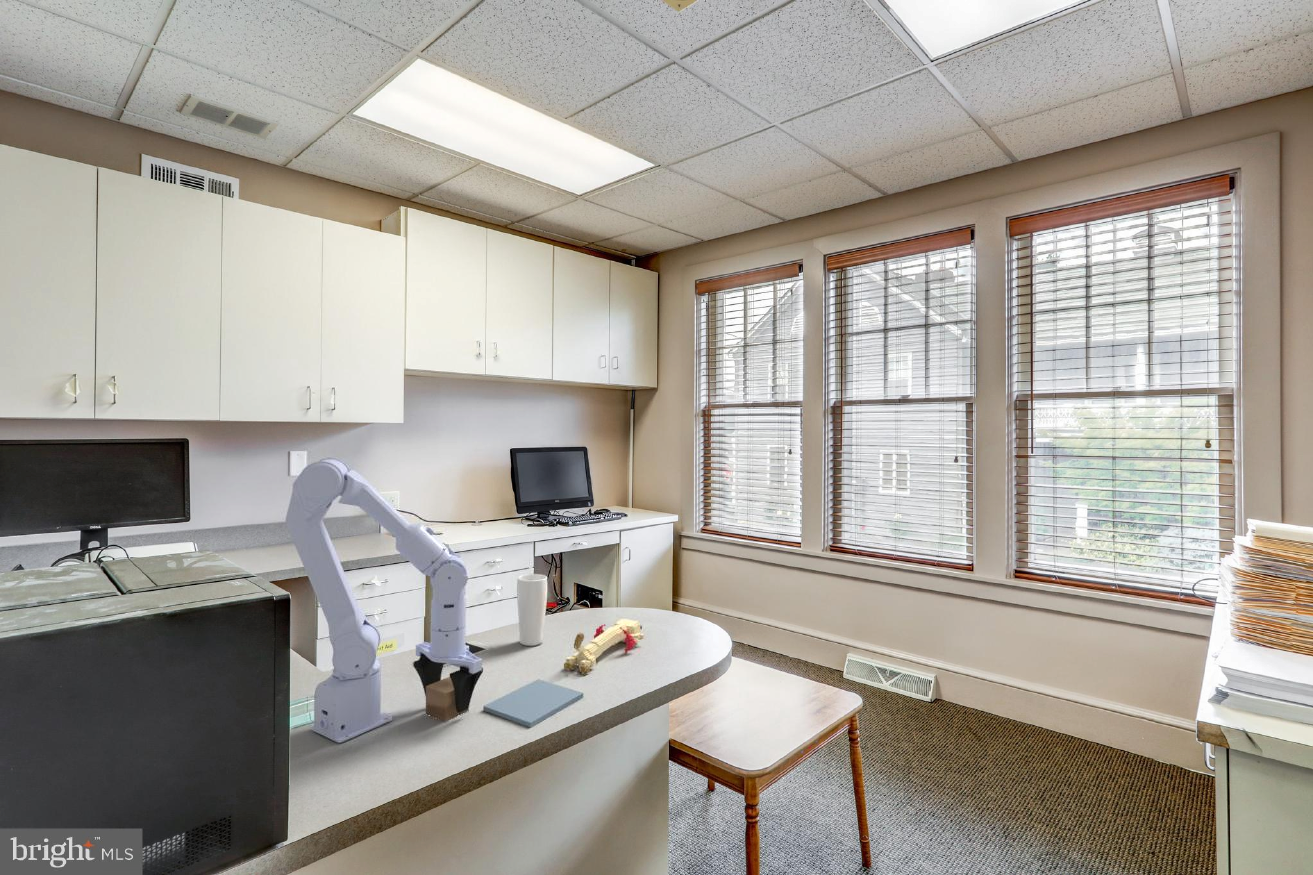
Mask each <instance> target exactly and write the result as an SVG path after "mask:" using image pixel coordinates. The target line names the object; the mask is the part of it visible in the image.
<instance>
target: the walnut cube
mask: <svg viewBox="0 0 1313 875" xmlns="http://www.w3.org/2000/svg"><path fill="white" fill-rule="evenodd" d="M469 708H470V707H469ZM469 708H468V709H467V710H465V711H463V712H461V713H458V712H457V711H456V706H455V692H454V687H453V683H452V680H451V678H450V676H448V677H445V678H443V679H442V678H441V680H440V681H438V682H435V683H433V684H430V685H428V686H426V696H425V715H426V714H427V715H426V716H428V715H430V716H431V717H430V716H429V717H430V718H433V717H434V718H433V719H435V718H437V719H436V720H438V719H439V721H440V720H442V721H441V722H443V721H444V722H443V723H448V722H449V720H450V721H451V719H452V720H453V719H455V717H456V718H457V716H458V715H460V716H462V715H463V713H464V714H465V713H467V711H468V712H469V711H470V709H469ZM461 714H462V715H461ZM458 717H459V716H458Z"/></svg>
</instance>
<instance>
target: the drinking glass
mask: <svg viewBox="0 0 1313 875" xmlns="http://www.w3.org/2000/svg"><path fill="white" fill-rule="evenodd" d="M516 582H517V583H516V599H517V600H516V601H517V602H516V603H517V613H518V626H519V627H518V629H519V643H520V644H521V645H522V646H525V647H526V646H527V647H533V646H538V645H541V644H542V643H543V642H544V638H545V637H544V636H545V635H544V634H545V633H544V631H545V630H544V629H545V619H546V610H547V601H548V576H547V575H545V574H540V573H527V574H522V575H518V577H517V580H516Z"/></svg>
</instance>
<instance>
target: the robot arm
mask: <svg viewBox="0 0 1313 875" xmlns="http://www.w3.org/2000/svg"><path fill="white" fill-rule="evenodd" d="M338 497H340V499H339V500H338V501H337V503H338V504H342V505H347V506H348V505H349V506H355V507H359V508H360V509H361V510H363V511H364V512H365V513H366V514H367V515H368V516H369V517H371V518H372V519H373V520H374V521H375V522H376V523H377V524H379V525H380V526H381V527H382V528H383V529H385V530H386V531H387V532H388V533H389V534H391V535H392V536H393V537H394V538H395V550H396V551H397V552H398V553H399V554H400V555H401V556H403V557H404V558H405V559H406V561H408V562H409V563H410V564H411V565H412V566H414V568H416V569H417V570H418V571H419V572H420V573H421V574H422V575H425V576H428V577H430V580H429V581H430V585H431V587H432V599H431V601H430V642H426V641H423V642H420V643H418V644H417V643H416V644H415V656H416V657H419V658H418V659H419V660H417V659H416V660H417V661H415V660H414V661H413V664H412V665H413V668H414V670H415V671H416V673H417V674H418V676H419V679H420V681H421V684H422V689H423V692H424V697H426V686H428V685H430V684H433V683H435V682H438V681H440V680H442V673H443V670H444V669H443V665H444V663H447V664H451V665H450V666H454V667H458V668H459V669H458V670H456V671H453V672H451V673H449V677H450V678H451V680H452V683H453V687H454V692H455V706H456V711H457V712H458V713H461V712H463V711H465V710H467V709H468V708H470V704H471V700H472V696H473V693H474V690H475V687H476V685H477V683H478V681H479V679H480V677H481V676H482V674H483V673H484V667H483V658H480V657H478V656H477V655H476V656H475V655H473V654H472V653H471V652H469V651H468V650H469V646H467V645H465V643H466V631H467V630H466V628H467V627H466V624H467V617H466V616H467V614H466V613H467V598H466V597H465V595H466V594H467V592H466V591H467V590H466V586H467V584H468V580H469V576H468V572H467V567H466V564H465V562H464V560H463V559H462V558H461V556H460V555H459V554H458V553H455V550H454V548H452V547H451V546H450V547H447V546H446V545H445V544H444V543H443V542H441V540H440V539H438V537H437V536H436V535H434V534H435V529H434V528H432V527H431V525H428V526H427V527H426V526H425V525H424V524H423V523H410V522H409V521H408V520H407V519H406V518H405V517H404V516H403V515H402V514H401V513H400V512H399V511H398V510H397V509H396V508H395V507H394V506H393V505H392V504H391V503H390V502H389V501H388V500H387V498H385V497H384V496H383V494H381V492H379V491H378V490H377V488H375V487H374V486H373V484H371V483H370V482H369V481H368V480H366V478H364V477H363V476H362V474H360V473H359V472H357V471H355V470H354V469H350V468H349V466H348V464H346V462H344V461H343V460H341V459H339V458H336V457H325V458H322V459H320V460H318V461H314V462H311V463H310V464H307V466H305V467H304V469H302V471H301V473H299V475H298V476H297V478H296V479H295V480H294V482H292V493H291V497H290V500H289V504H288V508H287V512H286V517H285V524H286V528H287V530H288V533H289V535H290V537H291V540H292V542H293V545H294V547H295V550H296V551H297V554H298V556H299V558H300V561H301V563H302V565H303V568H304V570H305V572H306V575H307V577H308V579H309V582H310V584H311V587H312V590H313V591H314V594H315V596H316V598H317V601H318V603H319V605H320V608H321V610H322V613H323V615H324V617H325V620H326V623H327V626H328V635H329V642H330V644H331V645H332V646H331V647H332V658H331V659H332V660H331V661H332V666H333V669H332V673H331V675H330V676H329V677H327V678H325V680H323V681H321V682H319V683H318V684H316V687H315V689H314V693H313V694H314V698H313V700H314V702H313V703H314V704H313V705H314V706H313V708H314V709H313V713H314V714H313V715H314V716H313V726H311V728H310V729H312V730H311V731H313V732H315V733H317V734H319V735H321V736H324V737H325V738H328V739H330V740H332V741H334V742H336V743H338V744H340V743H344V742H346V741H348V740H350V739H353V738H356V737H358V736H360V735H361V734H364V733H366V732H368V731H371V730H372V729H376V728H378V727H380V726H382V725H384V724H387V723H388V722H391V721H392V720H393V717H392V716H391V715H388V714H385V713H383V712H382V711H381V710H382V709H381V708H382V707H381V706H382V705H381V699H382V696H381V694H382V691H381V690H382V689H381V688H382V686H381V684H382V678H381V677H382V663H381V662H380V660H378V658H377V651H378V649H379V646H380V644H381V634H380V632H379V629H378V628H377V627H376V626H375V625H374V624H372V623H371V622H370V621H369V620H368V618H367V616H366V613H365V612H364V611H363V610H362V609H361V608H360V606H359V605H358V603H357V602H358V601H357V600H356V597H355V594H354V592H353V590H352V588H351V586H350V583H349V580H348V578H347V576H346V573H345V571H344V569H343V568H344V567H343V566H342V563H341V562H340V558H339V556H338V555H337V552H336V549H335V547H334V544H333V542H332V539H331V537H330V535H329V532H328V530H327V528H326V526H325V523H324V518H325V517H326V515H327V513H328V511H329V509H330V508H331V506H332V504H333V501H335V500H336V499H337V498H338Z"/></svg>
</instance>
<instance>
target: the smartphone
mask: <svg viewBox="0 0 1313 875" xmlns="http://www.w3.org/2000/svg"><path fill="white" fill-rule="evenodd" d="M465 645H467V646H469V650H468V651H469V652H471V653H472V654H473V655H475V656H476V657H477V656H478V655H482V654H484V653H487V652H489V651H492V650H494V646H493V645H489V644H486V643H483V642H480V641H476V640H469V641H465ZM417 660H419V658H418V659H417V658H416V659H415V660H414V661H417ZM450 666H452V665H451V664H447V663H444V665H443V668H446V667H447V668H448V667H450Z"/></svg>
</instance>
